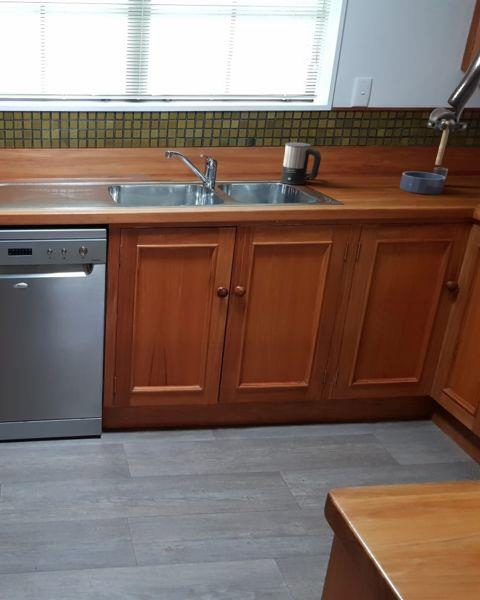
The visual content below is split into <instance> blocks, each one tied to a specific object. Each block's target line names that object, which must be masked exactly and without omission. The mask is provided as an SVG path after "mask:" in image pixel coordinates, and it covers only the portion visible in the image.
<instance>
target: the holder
mask: <svg viewBox="0 0 480 600" xmlns="http://www.w3.org/2000/svg"><path fill="white" fill-rule="evenodd" d="M448 172H449V169H448V168H445V167H434V168H433V172H432V173H433V174H438V175H442V176H444V177H445V180H446V179H447V175H448ZM445 183H446V181H445V182H444V184H445Z"/></svg>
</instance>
